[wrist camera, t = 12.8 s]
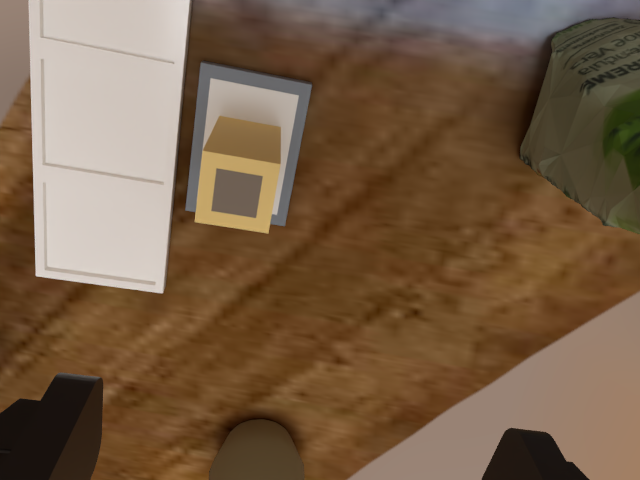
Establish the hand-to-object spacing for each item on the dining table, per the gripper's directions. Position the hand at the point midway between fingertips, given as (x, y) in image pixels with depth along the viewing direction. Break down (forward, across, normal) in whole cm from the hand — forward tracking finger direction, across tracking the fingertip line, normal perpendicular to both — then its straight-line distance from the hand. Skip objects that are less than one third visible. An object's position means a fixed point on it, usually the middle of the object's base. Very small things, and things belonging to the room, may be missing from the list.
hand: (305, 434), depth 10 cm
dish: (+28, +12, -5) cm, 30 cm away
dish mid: (+27, +12, +3) cm, 30 cm away
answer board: (+28, +3, +3) cm, 28 cm away
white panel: (+27, +12, +11) cm, 32 cm away
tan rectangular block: (+26, +3, +3) cm, 27 cm away
